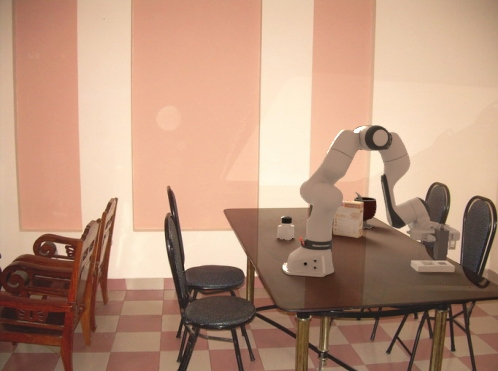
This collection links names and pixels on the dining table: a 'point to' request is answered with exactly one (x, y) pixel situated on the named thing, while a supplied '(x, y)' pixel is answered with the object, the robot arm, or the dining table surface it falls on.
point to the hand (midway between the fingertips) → (442, 239)
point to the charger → (441, 243)
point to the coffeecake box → (349, 219)
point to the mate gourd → (367, 209)
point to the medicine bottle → (285, 228)
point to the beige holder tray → (432, 266)
